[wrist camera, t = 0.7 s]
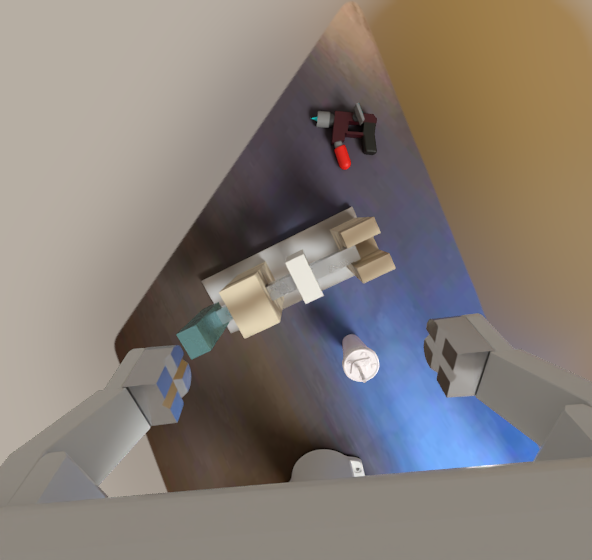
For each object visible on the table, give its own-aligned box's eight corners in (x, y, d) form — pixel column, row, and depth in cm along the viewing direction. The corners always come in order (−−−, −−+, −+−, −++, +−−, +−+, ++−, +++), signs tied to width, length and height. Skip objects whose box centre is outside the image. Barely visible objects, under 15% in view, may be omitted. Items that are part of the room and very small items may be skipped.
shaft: (358, 260, 47) (377, 272, 36) (214, 329, 49) (191, 359, 39) (348, 238, 46) (364, 244, 35) (202, 309, 49) (176, 334, 38)
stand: (375, 263, 56) (404, 279, 41) (232, 331, 59) (210, 368, 44) (351, 206, 54) (371, 201, 39) (203, 280, 57) (170, 300, 42)
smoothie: (329, 341, 60) (339, 377, 46) (353, 321, 59) (371, 352, 45) (348, 362, 61) (363, 404, 47) (372, 344, 60) (395, 380, 46)
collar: (319, 285, 50) (323, 295, 43) (304, 292, 50) (305, 304, 44) (302, 249, 49) (303, 253, 42) (286, 257, 49) (285, 262, 42)
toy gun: (311, 110, 51) (312, 99, 46) (378, 115, 51) (386, 104, 47) (306, 167, 53) (307, 162, 48) (371, 172, 53) (378, 168, 48)
